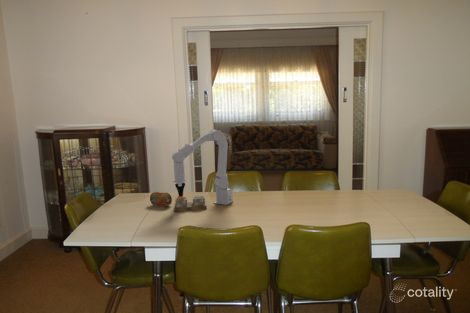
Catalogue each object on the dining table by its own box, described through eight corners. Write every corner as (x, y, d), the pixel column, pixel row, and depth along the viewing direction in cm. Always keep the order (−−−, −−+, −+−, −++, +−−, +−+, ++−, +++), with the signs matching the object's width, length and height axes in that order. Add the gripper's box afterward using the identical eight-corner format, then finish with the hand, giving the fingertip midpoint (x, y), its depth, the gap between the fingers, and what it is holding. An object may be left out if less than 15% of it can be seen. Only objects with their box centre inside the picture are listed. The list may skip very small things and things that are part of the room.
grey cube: (202, 202, 210) (201, 195, 209) (202, 204, 206) (202, 197, 205) (195, 202, 209) (195, 196, 209) (195, 204, 205) (195, 198, 205)
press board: (205, 204, 213) (204, 194, 212) (206, 209, 204) (206, 198, 203) (175, 206, 211) (174, 197, 210) (174, 211, 201) (174, 201, 200)
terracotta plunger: (184, 201, 208) (184, 194, 208) (185, 203, 204) (184, 196, 204) (178, 202, 208) (177, 195, 207) (177, 203, 204) (177, 197, 203)
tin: (150, 205, 217) (148, 191, 216) (153, 203, 220) (152, 190, 219) (169, 207, 210) (168, 193, 209) (173, 206, 213) (172, 192, 212)
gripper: (172, 170, 210) (174, 193, 212) (171, 175, 196) (173, 199, 198) (184, 170, 211) (186, 192, 213) (184, 174, 197) (186, 198, 199)
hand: (180, 195), depth 205 cm, fingers closed, pressing on terracotta plunger
